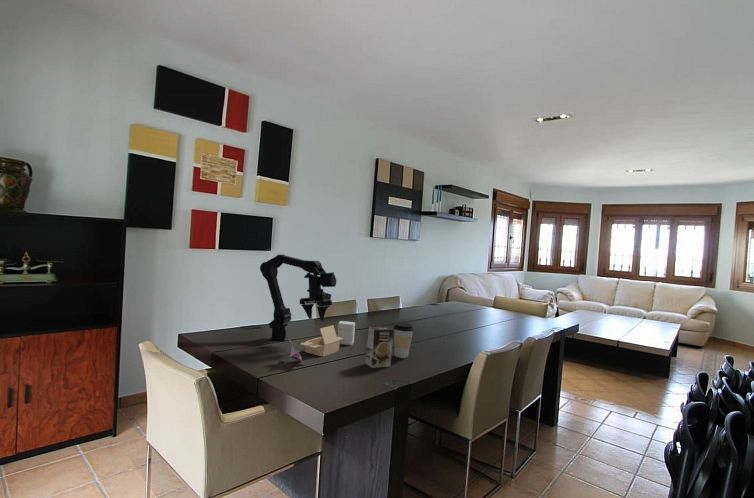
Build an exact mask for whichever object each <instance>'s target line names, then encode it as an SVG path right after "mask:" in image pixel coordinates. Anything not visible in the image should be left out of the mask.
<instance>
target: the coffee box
mask: <svg viewBox="0 0 754 498" xmlns="http://www.w3.org/2000/svg"><path fill="white" fill-rule="evenodd" d="M394 332H395V329H394V328H392V327H388V326H369V327H368V335H367V344H366V345H367V346H366V353H365V355H366V357H365V365H367V366H368V367H370V368H371V369H375V368H376V369H377V368H388V367H389V368H390V367H391V363H392V362H391V361H392V352H393V350H392V349H393V341H394V339H393V338H394Z"/></svg>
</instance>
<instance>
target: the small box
mask: <svg viewBox="0 0 754 498" xmlns="http://www.w3.org/2000/svg"><path fill="white" fill-rule="evenodd" d="M355 329H356V322H355V321H346V320H345V321H344V320H340V321H339V322H338V323H337V332H336V335H337V337H341V338H344V339H342V340H338V341H340V345H345V346H353V344H354V343H355V332H356V331H355Z"/></svg>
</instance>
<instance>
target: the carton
mask: <svg viewBox="0 0 754 498" xmlns="http://www.w3.org/2000/svg"><path fill="white" fill-rule="evenodd" d="M337 338H338V340H342V339H344V338H341V337H337ZM300 345H302V346H304V353H308V354H311V355H315V356H319V357H322V358H323V357H326V356H329V355H331V354H334V353H337V352H340V345H341V344H340V341H336V342H333V343H329V344H326V345H325V344H324V341H323V338H322V336H320V337H315V338H313V339H308V340H306V341H304V342H301V343H300Z"/></svg>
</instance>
